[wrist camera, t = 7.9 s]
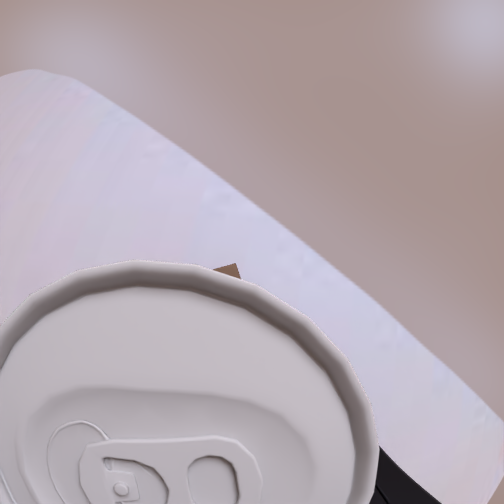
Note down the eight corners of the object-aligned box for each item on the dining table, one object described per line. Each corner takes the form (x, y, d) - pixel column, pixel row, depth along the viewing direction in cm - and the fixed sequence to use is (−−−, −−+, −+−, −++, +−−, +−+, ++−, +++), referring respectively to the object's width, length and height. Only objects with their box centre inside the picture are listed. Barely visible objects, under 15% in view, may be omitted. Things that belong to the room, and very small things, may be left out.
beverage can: (131, 327, 13) (-45, 256, 2) (230, 321, 14) (364, 233, 3) (142, 424, 12) (38, 590, 1) (241, 417, 13) (381, 572, 2)
